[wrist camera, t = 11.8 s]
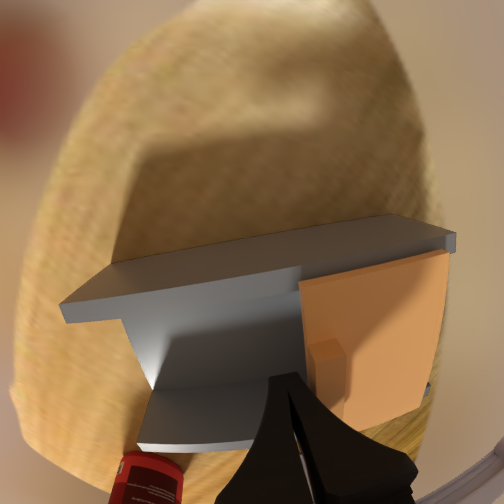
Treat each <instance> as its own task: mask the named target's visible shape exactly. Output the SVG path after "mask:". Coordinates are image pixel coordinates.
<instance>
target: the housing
mask: <svg viewBox="0 0 504 504" xmlns="http://www.w3.org/2000/svg"><path fill="white" fill-rule="evenodd" d="M439 249H443V250H446V251H448V252H450V254H451V253H455V252H456V232H453V231H450V230H446V229H443V228H440V227H437V226H434V225H430V224H427V223H423V222H420V221H417V220H413V219H409V218H406V217H402V216H399V215H395V214H388V215H381V216H375V217H369V218H362V219H356V220H350V221H344V222H338V223H332V224H326V225H320V226H314V227H308V228H302V229H296V230H290V231H284V232H278V233H273V234H267V235H261V236H256V237H250V238H244V239H239V240H233V241H228V242H222V243H217V244H211V245H206V246H200V247H195V248H190V249H184V250H179V251H174V252H168V253H163V254H158V255H153V256H148V257H143V258H137V259H132V260H127V261H122V262H117V263H112V264H109V265H108V266H107V267H105V268H104V269H103V270H101V271H100V272H99V273H98V274H96V275H95V276H94V277H92V278H91V279H90V280H88V281H87V282H86V283H85V284H83V285H82V286H81V287H80V288H78V289H77V290H76V291H75V292H73V293H72V294H71V295H70V296H68V297H67V298H66V299H65V300H64V301H62V302H61V303H60V304H59V307H60V309H61V312H62V314H63V317H64V319H65V321H66V324H69V323H81V322H91V321H102V320H111V319H121V320H122V323H123V325H124V328H125V330H126V333H127V335H128V338H129V340H130V343H131V345H132V347H133V350H134V352H135V354H136V356H137V359H138V361H139V363H140V365H141V367H142V370H143V372H144V374H145V376H146V378H147V380H148V382H149V384H150V386H151V388H152V390H153V391H152V394H151V397H150V400H149V404H148V407H147V410H146V413H145V416H144V419H143V423H142V426H141V429H140V433H139V436H138V439H137V444H138V446H139V447H140V448H141V449H142V451H147V452H169V453H196V452H218V451H231V450H241V449H250V448H251V446H252V444H253V441H254V439H255V437H256V434H257V432H258V429H259V426H260V423H261V420H262V417H263V413H264V409H265V405H266V400H267V394H268V378H269V377H271V376H276V375H281V374H286V373H291V372H298V373H299V374H300V376H301V378H302V379H303V381H304V382H305V384H306V385H307V386H308V381H307V368H306V355H305V343H304V332H303V322H302V312H301V302H300V293H299V284H298V282H299V281H304V280H309V279H314V278H319V277H323V276H328V275H333V274H338V273H342V272H347V271H352V270H356V269H361V268H365V267H370V266H374V265H378V264H383V263H387V262H391V261H395V260H399V259H404V258H408V257H412V256H416V255H420V254H424V253H428V252H432V251H435V250H439ZM430 387H431V385H430V384H429V383H428V382H427V385H426V389H425V392H424V395H423V398H424V397H426V396H428V393H429V390H430ZM293 431H294V430H293ZM294 435H295V433H294ZM295 439H296V436H295ZM296 441H297V439H296Z"/></svg>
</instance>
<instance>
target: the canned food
mask: <svg viewBox="0 0 504 504" xmlns="http://www.w3.org/2000/svg"><path fill="white" fill-rule="evenodd" d="M183 480H184V477H183V473H182V470H181V469H180V468H179V467H178V466H177V465H176V464H175V463H173V462H172V461H170V460H168V459H166V458H164V457H161V456H158V455H155V454H151V453H147V452H138V451H137V452H129V453H127V454H126V455H125V456H124V457H123V458H122V460H121V462H120V465H119V468H118V472H117V475H116V478H115V482H114V485H113V488H112V492H111V496H110V499H109V503H108V504H181V501H182V490H183Z"/></svg>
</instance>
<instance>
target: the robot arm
mask: <svg viewBox="0 0 504 504" xmlns="http://www.w3.org/2000/svg"><path fill="white" fill-rule="evenodd" d="M293 430H294V431H293ZM294 433H295V435H294ZM295 436H296V439H297V442H298V445H299V447H300V450H301V453H302V454H299V450H298V446H297V443H296V439H295ZM417 474H418V469H417V467H416V466H415V464H414V463H413V461H412V460H411V459H410V458H409V457H408V456H407V454H406V453H403V452H400V451H397V450H395V449H392V448H389V447H387V446H385V445H382V444H380V443H378V442H376V441H374V440H372V439H370V438H368V437H367V436H365V435H363V434H361V433H359V432H358V431H356V430H355V429H353V428H352V427H350V426H349V425H347V424H346V423H345V422H343V421H342V420H341V419H339V418H338V417H337V416H336V415H335V414H333V413H332V412H331V411H330V410H329V409H328V408H327V407H326V406H325V405H324V404H323V403H322V402H321V401H320V400H319V399H318V398H317V397H316V396H315V395H314V393H313V392H312V391H311V390H310V389H309V387H308V386H307V385H306V384H305V382H304V381H303V379H302V378H301V376H300V374H299V373H298V372H291V373H286V374H281V375H276V376H271V377H269V378H268V394H267V400H266V405H265V409H264V413H263V417H262V420H261V423H260V426H259V429H258V432H257V434H256V437H255V439H254V441H253V444H252V446H251V448H250V450H249V452H248V453H247V455H246V457H245V459H244V461H243V462H242V464H241V466H240V467H239V469H238V470H237V472H236V473H235V475H234V476H233V477H232V479H231V480H230V481H229V483H228V484H227V485H226V486H225V488H224V489H223V490H222V491H221V492H220V493H219V495H218V496H217V498H216V500H215V503H214V504H492V503H493V502H494V501H495V500H496V499H497V498H498V497H500V496H501V495H502V494H503V493H504V437H503V438H502V439H501V440H500V441H499V442H498V443H497V445H496V446H495V447H494V449H493V450H492V451H491V452H490V453H489V454H487V455H486V456H485V457H484V458H482V459H481V460H480V461H478V462H477V463H476V464H474V465H473V466H472V467H470V468H469V469H467V470H466V471H465V472H463V473H462V474H460V475H459V476H457V477H456V478H454V479H453V480H451V481H450V482H448V483H447V484H445V485H443V486H442V487H440V488H438V489H437V490H435V491H433V492H431V493H430V494H428V495H426V496H424V497H422V498H420V499H418V500H416V501H414V499H413V497H412V495H411V494H412V493H413V491H412V489H411V487H410V485H411V483H412V482H413V481H414V479H415V478H416V476H417Z"/></svg>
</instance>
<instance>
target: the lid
mask: <svg viewBox="0 0 504 504" xmlns="http://www.w3.org/2000/svg"><path fill="white" fill-rule="evenodd" d="M449 257H450V252H448V251H446V250H443V249H439V250H435V251H432V252H428V253H424V254H420V255H416V256H412V257H408V258H404V259H399V260H395V261H391V262H387V263H383V264H378V265H374V266H370V267H365V268H361V269H356V270H352V271H347V272H342V273H338V274H333V275H328V276H323V277H319V278H314V279H309V280H304V281H299V282H298V284H299V293H300V302H301V312H302V322H303V332H304V343H305V355H306V368H307V381H308V387H309V389H310V390H311V391H312V392H313V393H314V395H315V396H316V397H317V398H318V399H319V400H320V401H321V402H322V403H323V404H324V405H325V406H326V407H327V408H328V409H329V410H330V411H331V412H332V413H333V414H335V415H336V416H337V417H338V418H339V419H341V420H342V421H343V422H345V423H346V424H347V425H349V426H350V427H352V428H353V429H355V430H356V431H358V432H359V431H362V430H365V429H368V428H370V427H373V426H376V425H378V424H381V423H384V422H386V421H389V420H391V419H394V418H396V417H398V416H401V415H403V414H405V413H407V412H410V411H412V410H414V409H416V408H418V407H419V406H420V404H421V401H422V398H423V395H424V392H425V389H426V385H427V382H428V379H429V375H430V372H431V368H432V364H433V360H434V356H435V352H436V348H437V344H438V339H439V334H440V329H441V324H442V318H443V312H444V305H445V298H446V290H447V281H448V271H449Z"/></svg>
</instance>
